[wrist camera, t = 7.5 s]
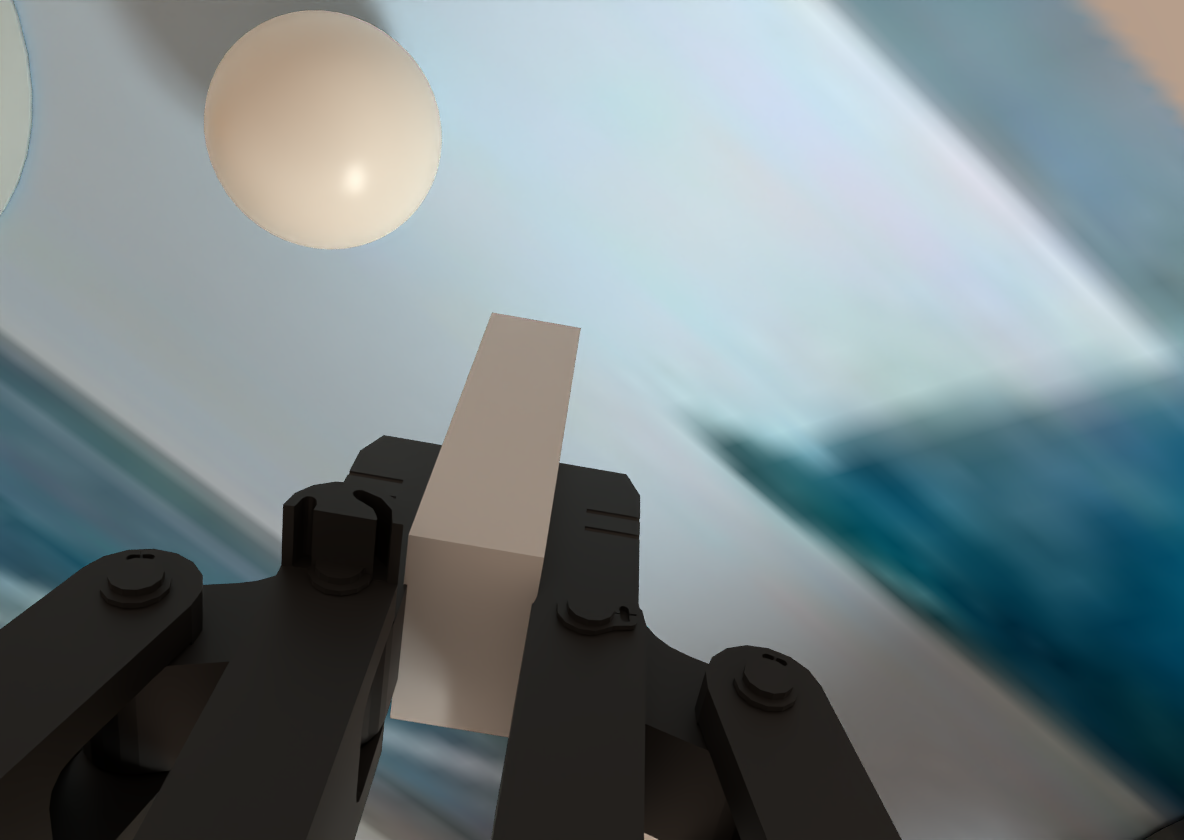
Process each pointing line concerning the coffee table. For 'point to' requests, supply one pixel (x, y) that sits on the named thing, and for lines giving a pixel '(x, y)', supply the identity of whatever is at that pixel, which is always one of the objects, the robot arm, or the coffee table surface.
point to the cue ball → (322, 129)
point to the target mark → (13, 101)
